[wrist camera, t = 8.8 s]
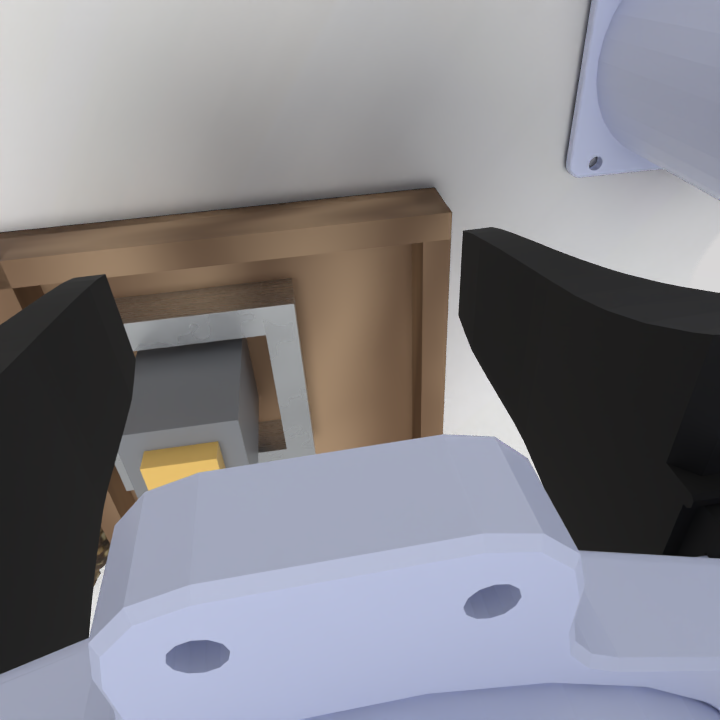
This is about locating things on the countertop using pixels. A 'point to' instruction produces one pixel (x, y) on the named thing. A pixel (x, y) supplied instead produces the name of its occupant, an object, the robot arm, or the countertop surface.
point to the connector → (190, 413)
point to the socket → (232, 321)
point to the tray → (311, 292)
